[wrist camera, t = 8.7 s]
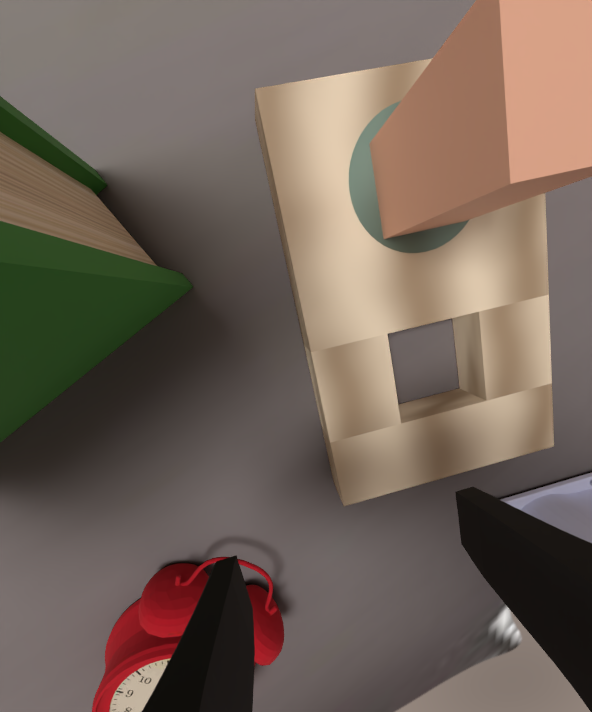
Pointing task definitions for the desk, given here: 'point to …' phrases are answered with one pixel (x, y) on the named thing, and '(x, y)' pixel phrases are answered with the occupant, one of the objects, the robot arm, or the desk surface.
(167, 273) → the hardback book
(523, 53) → the peg
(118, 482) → the desk surface
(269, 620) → the alarm clock
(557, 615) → the robot arm
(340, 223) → the pocket board
